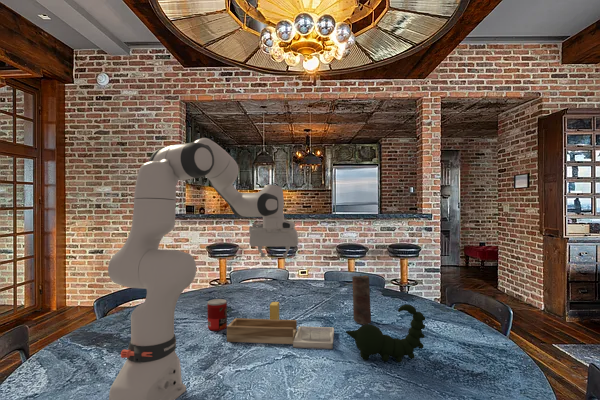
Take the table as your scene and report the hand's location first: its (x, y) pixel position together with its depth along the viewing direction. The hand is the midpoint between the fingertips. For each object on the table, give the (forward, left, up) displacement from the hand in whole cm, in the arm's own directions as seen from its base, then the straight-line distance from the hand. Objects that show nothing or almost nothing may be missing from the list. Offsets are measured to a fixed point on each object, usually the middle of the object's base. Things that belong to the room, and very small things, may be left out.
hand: (274, 257), depth 146 cm
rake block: (0, 0, -29) cm, 29 cm away
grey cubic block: (-11, -14, -29) cm, 34 cm away
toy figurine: (-25, -42, -29) cm, 57 cm away
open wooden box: (-11, +2, -29) cm, 31 cm away
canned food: (-2, +24, -29) cm, 38 cm away
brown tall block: (+10, -36, -29) cm, 47 cm away
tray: (-11, -18, -29) cm, 36 cm away
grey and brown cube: (-11, -20, -27) cm, 35 cm away
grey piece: (-12, -18, -29) cm, 36 cm away
